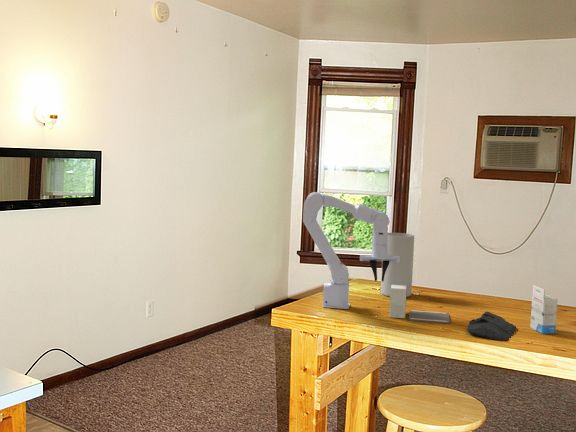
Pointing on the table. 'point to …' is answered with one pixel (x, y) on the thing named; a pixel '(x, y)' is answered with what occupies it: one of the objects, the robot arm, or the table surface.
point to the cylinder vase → (399, 263)
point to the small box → (397, 301)
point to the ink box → (543, 312)
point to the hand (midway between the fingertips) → (379, 280)
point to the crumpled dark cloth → (491, 327)
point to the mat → (429, 316)
